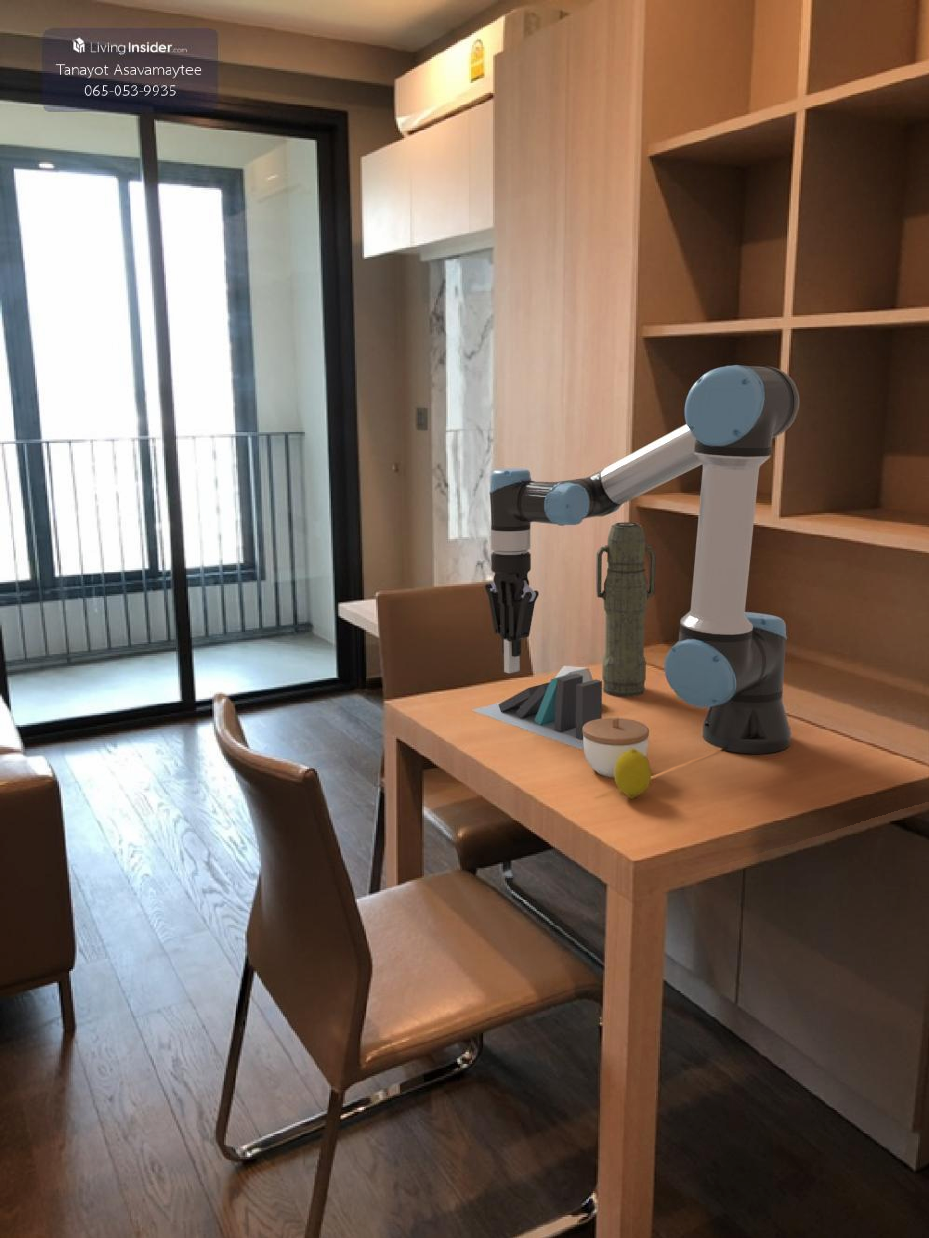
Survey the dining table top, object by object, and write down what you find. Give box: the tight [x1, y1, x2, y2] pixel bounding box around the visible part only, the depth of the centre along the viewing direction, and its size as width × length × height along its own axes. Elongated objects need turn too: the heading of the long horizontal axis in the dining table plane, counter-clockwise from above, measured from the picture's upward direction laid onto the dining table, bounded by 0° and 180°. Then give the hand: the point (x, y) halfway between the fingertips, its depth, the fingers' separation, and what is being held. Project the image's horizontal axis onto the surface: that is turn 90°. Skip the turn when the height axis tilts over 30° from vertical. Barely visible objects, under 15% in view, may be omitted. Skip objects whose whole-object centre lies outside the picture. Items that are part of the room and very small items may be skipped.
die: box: [554, 665, 594, 683], centre depth 200 cm, size 8×9×10 cm
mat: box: [470, 700, 584, 750], centre depth 190 cm, size 30×12×1 cm, turn 40°
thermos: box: [595, 521, 657, 698], centre depth 207 cm, size 9×12×35 cm
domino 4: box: [576, 679, 603, 740], centre depth 181 cm, size 2×5×10 cm, turn 130°
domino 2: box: [517, 681, 550, 719], centre depth 191 cm, size 2×5×10 cm
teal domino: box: [535, 674, 571, 725], centre depth 188 cm, size 2×5×10 cm, turn 130°
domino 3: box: [554, 674, 583, 733], centre depth 185 cm, size 2×5×10 cm, turn 130°
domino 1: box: [499, 683, 543, 712], centre depth 194 cm, size 2×5×10 cm
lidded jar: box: [582, 717, 650, 778], centre depth 165 cm, size 11×11×9 cm
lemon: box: [614, 749, 652, 799], centre depth 154 cm, size 6×6×8 cm
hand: (511, 671), depth 196 cm, fingers closed
